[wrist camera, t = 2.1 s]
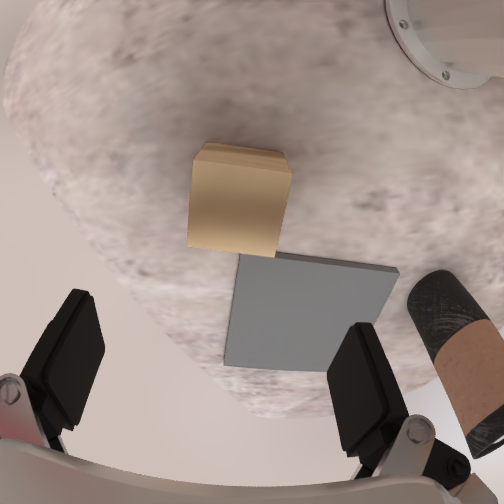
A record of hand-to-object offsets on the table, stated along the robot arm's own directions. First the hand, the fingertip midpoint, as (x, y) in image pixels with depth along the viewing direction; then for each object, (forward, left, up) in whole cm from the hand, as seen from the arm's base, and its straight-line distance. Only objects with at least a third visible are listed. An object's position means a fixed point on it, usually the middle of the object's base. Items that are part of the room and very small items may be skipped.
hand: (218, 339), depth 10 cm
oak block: (0, 0, -16) cm, 16 cm away
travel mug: (+9, +24, -16) cm, 30 cm away
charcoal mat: (+14, +9, -16) cm, 23 cm away
